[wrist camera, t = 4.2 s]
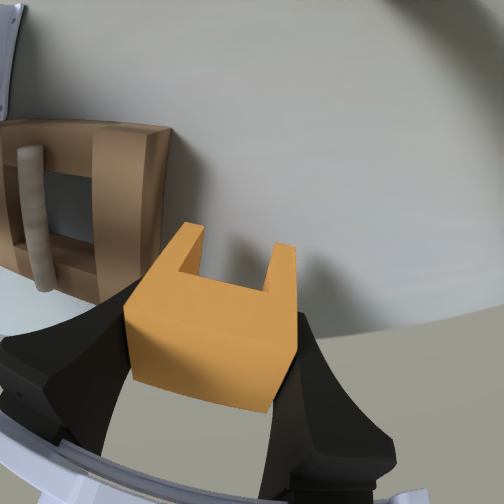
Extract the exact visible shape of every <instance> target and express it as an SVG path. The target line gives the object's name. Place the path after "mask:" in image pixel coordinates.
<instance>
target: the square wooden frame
mask: <svg viewBox="0 0 504 504" xmlns="http://www.w3.org/2000/svg"><path fill="white" fill-rule="evenodd" d="M170 133H171V128H169V127H161V126H153V125H144V124H134V123H123V122H111V121H95V120H74V119H16V120H7V121H3V122H0V266H2V267H4V268H6V269H9V270H11V271H13V272H15V273H17V274H20V275H22V276H24V277H26V278H29V279H31V280H33V281H35V284H36V288H37V290H38V291H40V292H49V291H52V290H53V289H55V290H58V291H60V292H63V293H65V294H68V295H70V296H73V297H76V298H78V299H81V300H84V301H87V302H89V303H92V304H95V305H99V304H101V303H102V302H104V301H106V300H107V299H109V298H111V297H112V296H114V295H115V294H117V293H118V292H120V291H121V290H123V289H124V288H126V287H127V286H129V285H130V284H132V283H133V282H135V281H136V280H138V279H139V278H141V277H142V276H144V275H146V273H147V272H148V271H149V269H150V268H151V266H152V265H153V264H154V262H155V261H156V260H157V258H158V257H159V255H160V238H161V222H162V208H163V196H164V185H165V175H166V166H167V157H168V149H169V141H170ZM44 171H51V172H57V173H64V174H70V175H77V176H83V177H89V178H92V217H93V236H94V244H90V243H87V242H83V241H80V240H76V239H73V238H69V237H66V236H62V235H59V234H55V233H52V232H49V230H48V222H47V213H46V202H45V187H44Z"/></svg>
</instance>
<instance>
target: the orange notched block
mask: <svg viewBox="0 0 504 504" xmlns="http://www.w3.org/2000/svg"><path fill="white" fill-rule="evenodd" d="M204 228H205V226H202V225H197V224H193V223H188V222H184V224H183V225H182V226H181V228H180V229H179V230H178V231H177V233H176V234H175V235H174V237H173V238H172V239H171V241H170V242H169V243H168V245H167V246H166V247H165V249H164V250H163V251H162V253H161V254H160V255H159V257H158V258H157V260H156V261H155V262H154V264H153V265H152V266H151V268H150V269H149V271H148V272H147V273H146V275H145V276H144V278H143V279H142V280H141V282H140V283H139V285H138V286H137V287H136V289H135V290H134V292H133V293H132V295H131V296H130V298H129V299H128V300H127V302H126V303H125V305H124V306H123V307H124V317H125V326H126V334H127V342H128V350H129V356H130V363H131V369H132V375H133V379H134V380H136V381H139V382H142V383H145V384H148V385H151V386H155V387H157V388H161V389H164V390H167V391H171V392H174V393H177V394H181V395H185V396H189V397H192V398H196V399H200V400H204V401H208V402H212V403H216V404H221V405H225V406H230V407H234V408H239V409H245V410H250V411H255V412H261V413H267V411H268V409H269V407H270V405H271V403H272V401H273V399H274V397H275V395H276V393H277V391H278V389H279V387H280V385H281V383H282V381H283V379H284V377H285V375H286V373H287V371H288V369H289V366H290V364H291V362H292V360H293V358H294V356H295V353H296V351H297V278H296V247H293V246H289V245H285V244H280V243H276V242H275V244H274V248H273V252H272V255H271V259H270V263H269V267H268V270H267V274H266V278H265V281H264V285H263V289H262V291H259V290H255V289H250V288H246V287H242V286H237V285H233V284H229V283H224V282H220V281H216V280H212V279H208V278H204V277H200V276H198V275H199V267H200V259H201V251H202V243H203V236H204Z"/></svg>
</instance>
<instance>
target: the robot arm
mask: <svg viewBox="0 0 504 504" xmlns="http://www.w3.org/2000/svg"><path fill="white" fill-rule="evenodd" d="M23 8H24V5H23V4H22V3H18V4H16V5H4V4H0V121H4V120H5V119H6V117H7V109H8V94H9V83H10V75H11V67H12V60H13V54H14V48H15V43H16V37H17V33H18V28H19V24H20V20H21V16H22V12H23ZM144 276H145V275H144ZM144 276H142V277H141V278H139V279H138V280H136V281H135V282H133V283H132V284H130V285H129V286H127V287H126V288H124V289H123V290H121V291H120V292H118V293H117V294H115V295H114V296H112V297H111V298H109V299H107V300H106V301H104V302H102V303H101V304H99V305H97V306H96V307H94V308H92V309H90V310H88V311H87V312H85V313H83V314H81V315H78V316H76V317H74V318H72V319H70V320H67V321H64V322H62V323H59V324H56V325H54V326H51V327H48V328H45V329H42V330H38V331H34V332H30V333H26V334H21V335H15V336H9V337H5V338H3V340H2V341H1V342H0V386H1V387H2V389H3V392H2V393H1V395H0V463H1V464H3V465H4V466H5V467H7V468H8V469H9V470H11V471H12V472H13V473H15V474H16V475H18V476H19V477H20V478H22V479H23V480H25V481H26V482H28V483H29V484H31V485H32V486H34V487H36V488H37V489H39V490H40V491H42V494H41V496H40V499H39V501H38V504H166V503H163V502H159V501H156V500H152V499H149V498H147V497H144V496H141V495H137V494H135V493H132V492H129V491H126V490H124V489H121V488H119V487H116V486H114V485H111V484H109V483H106V482H104V481H102V480H99V479H97V478H94V477H92V476H89V474H88V473H87V472H86V471H85V470H87V471H89V472H91V473H93V474H95V475H98V476H100V477H102V478H104V479H107V480H109V481H112V482H114V483H117V484H119V485H122V486H124V487H127V488H130V489H132V490H135V491H138V492H141V493H144V494H147V495H150V496H153V497H156V498H160V499H163V500H166V501H170V502H174V503H178V504H430V499H429V492H428V488H422V489H417V490H411V491H406V492H402V493H399V494H396V495H394V496H392V497H391V498H390V499H382V500H373V490H375V489H376V480H377V479H379V478H380V477H382V476H383V475H385V474H386V473H388V472H390V471H391V470H392V469H393V468H394V467H395V465H396V464H397V461H396V453H395V447H394V443H393V439H391V438H390V437H389V436H388V435H386V434H385V433H384V432H383V431H382V430H381V429H379V428H378V427H377V426H376V425H375V424H374V423H373V422H372V421H371V420H370V419H369V418H368V417H367V416H366V415H365V414H364V413H363V412H362V411H361V410H360V409H359V408H358V407H357V405H356V404H355V403H354V402H353V401H352V400H351V398H350V397H349V396H348V395H347V393H346V392H345V391H344V389H343V388H342V387H341V385H340V384H339V382H338V381H337V379H336V378H335V376H334V374H333V373H332V371H331V369H330V368H329V366H328V364H327V362H326V360H325V358H324V357H323V355H322V353H321V351H320V349H319V347H318V344H317V342H316V340H315V338H314V336H313V333H312V331H311V329H310V326H309V324H308V321H307V319H306V316H305V314H304V313H301V312H297V351H296V353H295V356H294V358H293V360H292V362H291V364H290V366H289V369H288V371H287V373H286V375H285V377H284V379H283V381H282V383H281V385H280V387H279V389H278V391H277V393H276V395H275V397H274V399H273V417H272V425H271V432H270V439H269V445H268V451H267V457H266V463H265V468H264V473H263V478H262V483H261V487H260V492H259V496H258V499H253V498H246V497H239V496H232V495H227V494H222V493H216V492H211V491H206V490H202V489H197V488H193V487H189V486H185V485H181V484H177V483H174V482H170V481H166V480H163V479H160V478H156V477H154V476H150V475H147V474H144V473H141V472H139V471H136V470H133V469H130V468H127V467H125V466H122V465H120V464H117V463H115V462H112V461H110V460H107V459H105V458H102V457H101V453H102V449H103V444H104V441H105V437H106V433H107V429H108V426H109V423H110V420H111V416H112V414H113V411H114V408H115V405H116V402H117V399H118V396H119V394H120V391H121V388H122V386H123V384H124V381H125V379H126V377H127V375H128V373H129V370H130V369H131V363H130V356H129V350H128V342H127V334H126V326H125V317H124V307H123V306H124V305H125V303H126V302H127V300H128V299H129V298H130V296H131V295H132V293H133V292H134V290H135V289H136V287H137V286H138V285H139V283H140V282H141V280H142V279H143V278H144ZM79 467H80V468H79ZM81 468H82V469H81ZM83 469H84V470H83Z"/></svg>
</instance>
